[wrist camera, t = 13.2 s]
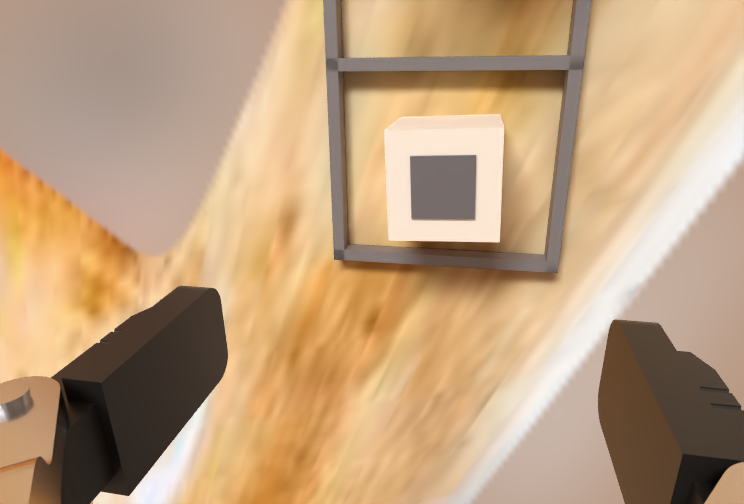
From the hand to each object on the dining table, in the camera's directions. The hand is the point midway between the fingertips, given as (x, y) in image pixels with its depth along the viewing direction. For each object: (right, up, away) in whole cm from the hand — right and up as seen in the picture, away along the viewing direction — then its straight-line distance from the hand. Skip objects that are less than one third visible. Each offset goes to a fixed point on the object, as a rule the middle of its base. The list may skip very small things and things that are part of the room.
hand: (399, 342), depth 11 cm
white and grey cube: (+3, +6, +17) cm, 18 cm away
